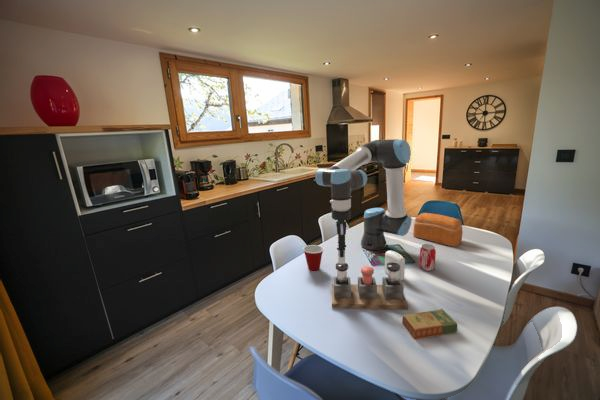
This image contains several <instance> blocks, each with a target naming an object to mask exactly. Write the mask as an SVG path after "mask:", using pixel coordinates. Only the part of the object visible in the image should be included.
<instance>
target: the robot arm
mask: <svg viewBox="0 0 600 400" xmlns="http://www.w3.org/2000/svg"><path fill="white" fill-rule="evenodd" d="M411 150H412V149H411V147H410V144H409V142H408V140H405V139H398V138H396V139H395V138H394V139H392V138H391V139H375V140H371V141H369V142H367V143H366V142H365V143H364V144H363V145H360V146H359V147H357V148H356V149H355V151H354V152H352V154H350V155H348V156H346V157H344V158H343V159H342V160H340V161H338V162H337V163H335V164H334V165H332V166H330V167H328V168H319V169H318V170H317V171H316V172H315V175H314V176H315V182H316V184H317V185H319V186H322V187H330V188H331V189H330V190H331V192H330V193H331V200H329V203H330V204H331V218H332V219H333V220H334V221H336V222H335V226H336V234H337V246H338V247H336V250H337V252H338V253H337V257H338V258H337V260H338V261H337V263H339V264H345V263H346V248H347V244H346V235H347V221H348V220H350V219H351V217H352V210H351V208H352V197H351V193H352V192H353V191H355V190H358V189H361V188H363V187H364V186H365V185H367V182H368V176H367V173H366V172H365V171H364V170H362V169H359V168H360V167H362V166H363V165H367V164H369V163H382V168H383V169H385V179H386V181H385V182H386V195H387V196H386V197H387V199H386V200H387V209H386V210H385V208H383V207H372V208H368V209H366V210H364V214H363V235H362V237H361V240H360V245H361V247H363V248H364V249H365V250H368V251H380V250H381V251H382V250H384V249H385V248H386V249H387V239H386V237H385V233H386V234H392V235H395V236H400V237H403V236H404V237H405V236H406V235H407V234H408V233H409V231H410V230H411V225H412V216H410V215H408V211H407V209H405V187H404V185H405V184H404V182H405V181H404V168H406V166H407V164H408V163H409V162H410V160H411V155H412V151H411Z"/></svg>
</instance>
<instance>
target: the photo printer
mask: <svg viewBox="0 0 600 400" xmlns="http://www.w3.org/2000/svg"><path fill="white" fill-rule="evenodd" d="M391 262H393V263H397V264H399V265H400V270H399V271H398V277H399V278H400V280H401V281H404V278H405V268H406V267H405V266H406V259H405V257H403V255H402V254H400V253H398V252H397V251H394V250H387V251H385V253H384V273H385V274H387V275H388V269H387V264H388V263H391Z"/></svg>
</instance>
